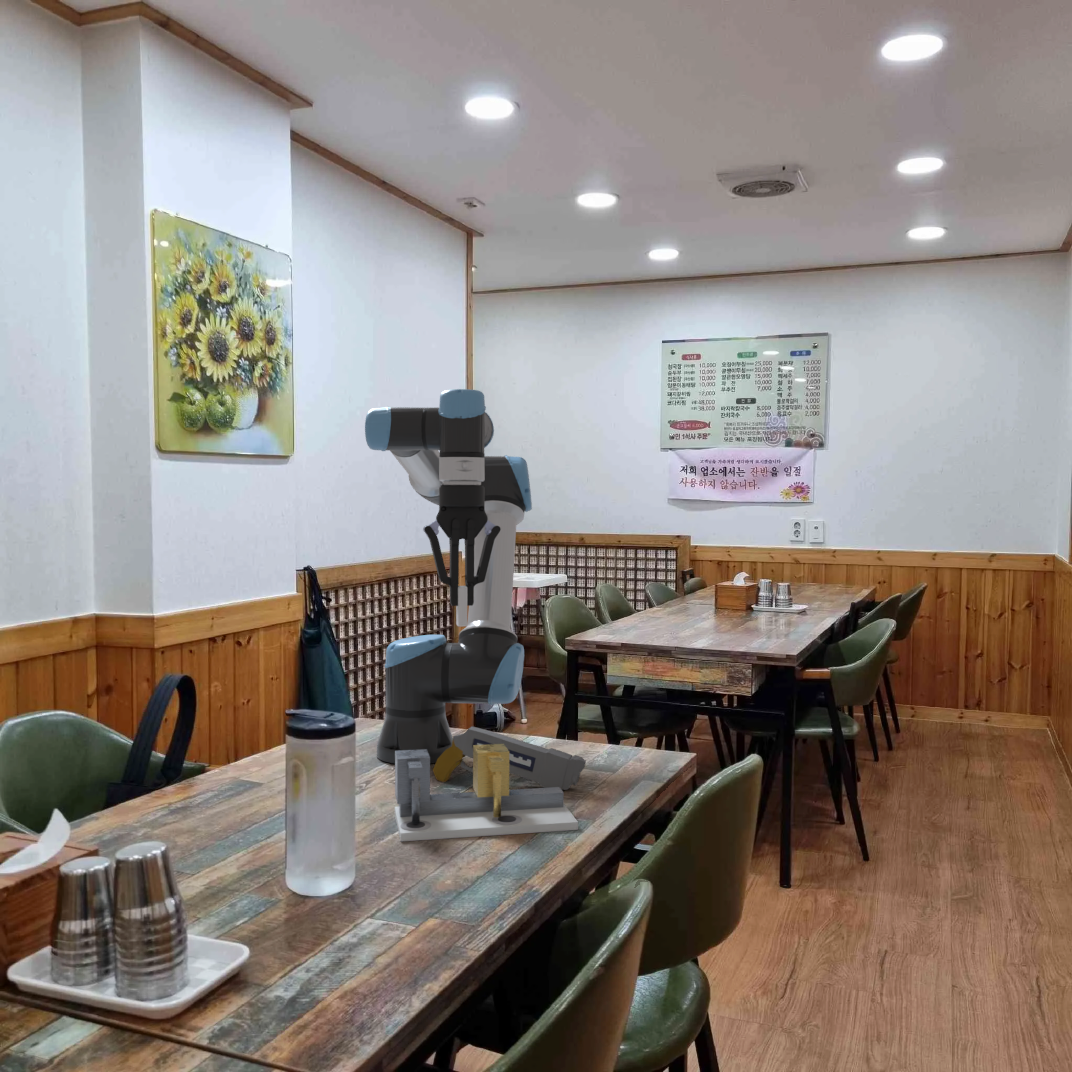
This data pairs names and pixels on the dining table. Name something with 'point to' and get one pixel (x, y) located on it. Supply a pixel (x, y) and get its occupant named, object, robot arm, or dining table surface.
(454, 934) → the dining table surface
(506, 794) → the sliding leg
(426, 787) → the grey sliding rail fixture
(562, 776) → the gun
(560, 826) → the bolt plate
